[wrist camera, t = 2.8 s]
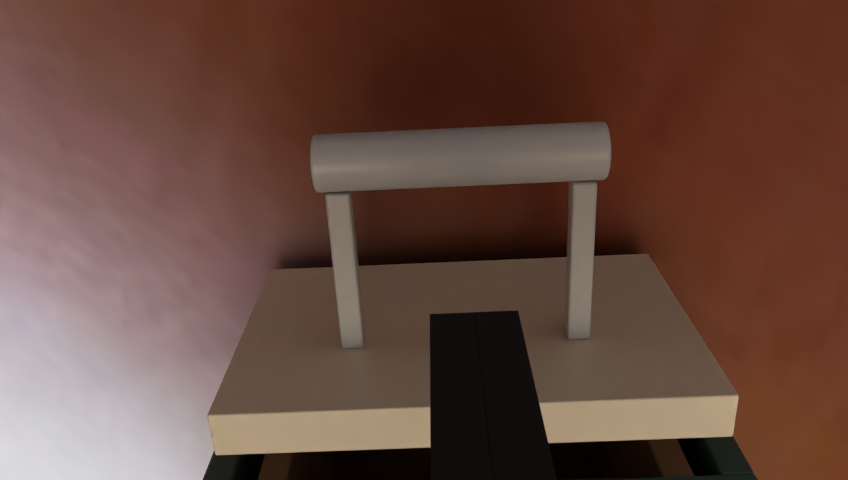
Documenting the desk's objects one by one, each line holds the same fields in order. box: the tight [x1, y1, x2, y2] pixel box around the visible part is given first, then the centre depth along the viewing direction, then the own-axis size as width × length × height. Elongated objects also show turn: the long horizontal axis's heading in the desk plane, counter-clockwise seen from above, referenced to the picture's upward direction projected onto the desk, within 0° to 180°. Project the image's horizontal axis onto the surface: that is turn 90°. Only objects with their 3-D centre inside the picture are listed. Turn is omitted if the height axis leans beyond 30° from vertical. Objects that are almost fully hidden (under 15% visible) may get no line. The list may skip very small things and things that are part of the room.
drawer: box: [207, 121, 739, 480], centre depth 22 cm, size 19×12×8 cm, turn 3°
